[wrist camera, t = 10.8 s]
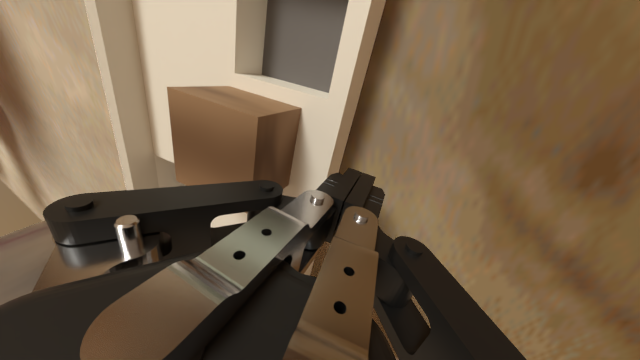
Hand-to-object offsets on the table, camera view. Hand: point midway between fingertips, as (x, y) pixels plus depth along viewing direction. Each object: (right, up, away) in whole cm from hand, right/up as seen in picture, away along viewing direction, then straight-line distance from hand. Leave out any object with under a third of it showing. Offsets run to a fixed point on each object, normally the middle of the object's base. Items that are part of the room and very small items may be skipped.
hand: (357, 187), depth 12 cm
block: (-6, +3, +2) cm, 7 cm away
